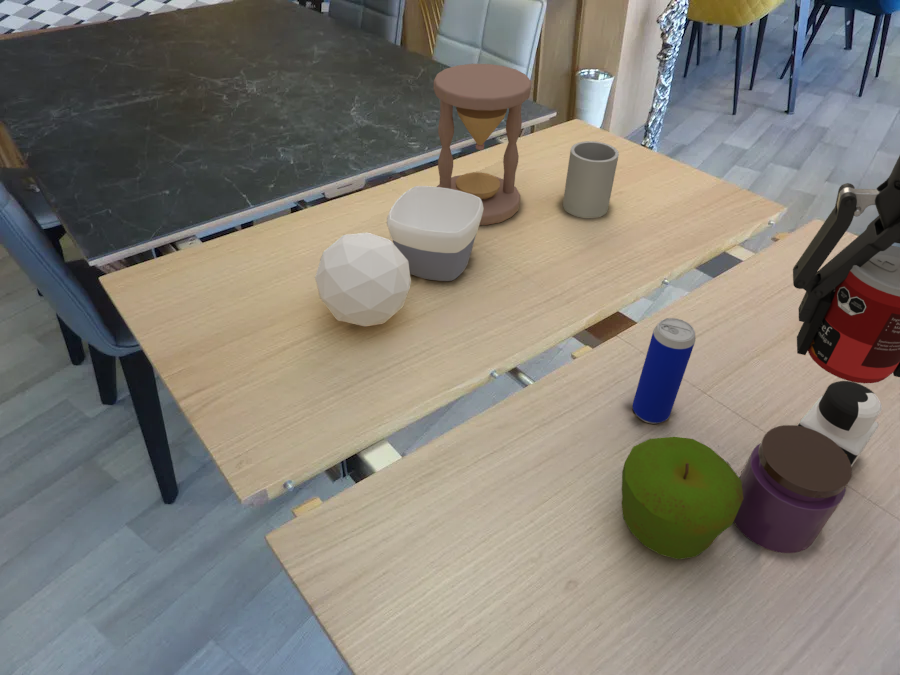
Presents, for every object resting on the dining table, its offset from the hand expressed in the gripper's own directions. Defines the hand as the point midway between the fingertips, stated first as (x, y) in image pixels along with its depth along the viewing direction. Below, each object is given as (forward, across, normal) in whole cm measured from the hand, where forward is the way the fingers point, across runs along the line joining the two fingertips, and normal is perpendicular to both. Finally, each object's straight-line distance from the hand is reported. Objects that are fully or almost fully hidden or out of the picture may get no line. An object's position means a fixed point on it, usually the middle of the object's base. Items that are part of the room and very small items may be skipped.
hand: (847, 356), depth 66 cm
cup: (+24, -36, +63) cm, 76 cm away
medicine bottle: (+24, +6, +10) cm, 27 cm away
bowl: (+24, -57, +33) cm, 70 cm away
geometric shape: (+24, -62, +15) cm, 68 cm away
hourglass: (+24, -57, +56) cm, 83 cm away
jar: (+24, +1, -2) cm, 24 cm away
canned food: (0, 0, 0) cm, 0 cm away
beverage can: (+24, -16, +10) cm, 31 cm away
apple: (+24, -11, -8) cm, 28 cm away
